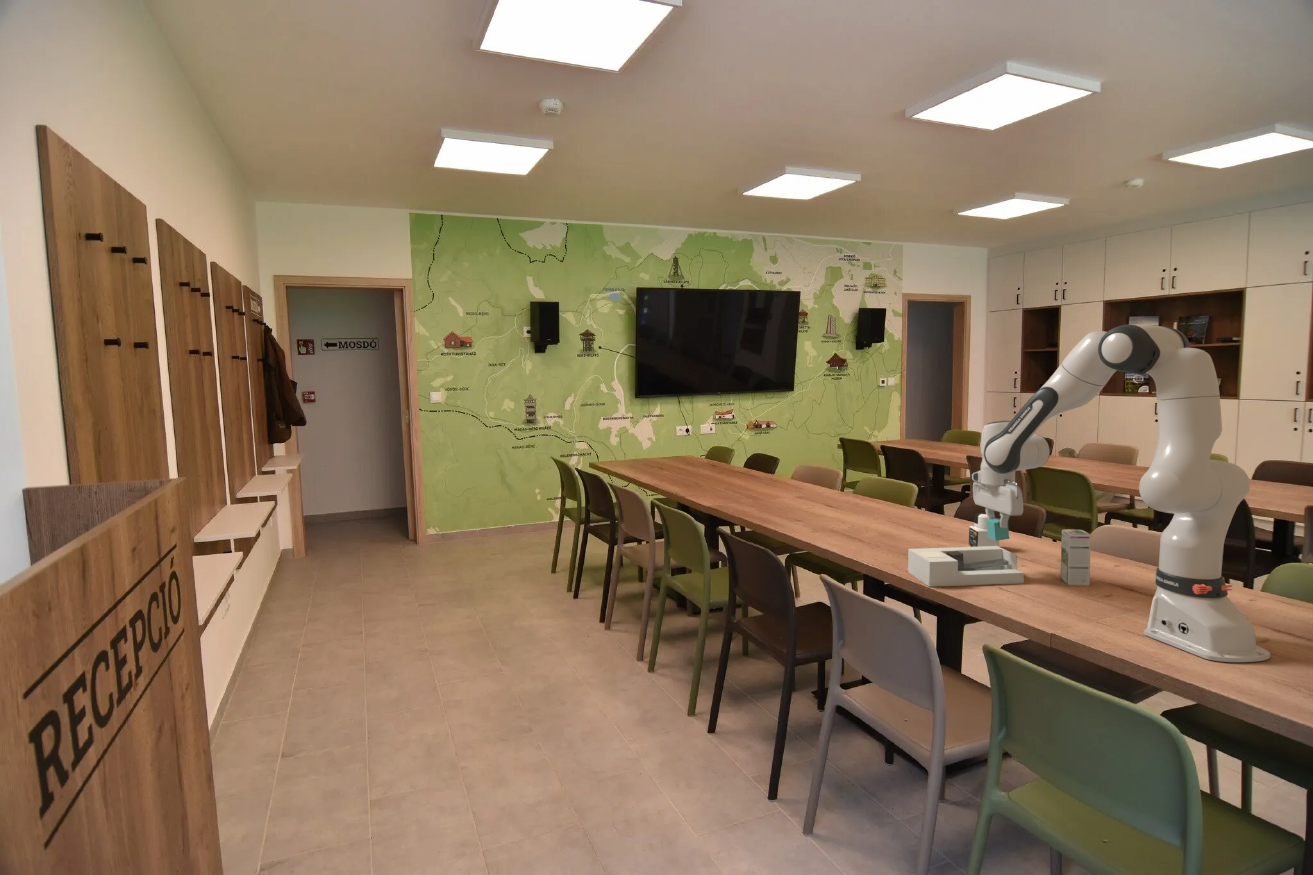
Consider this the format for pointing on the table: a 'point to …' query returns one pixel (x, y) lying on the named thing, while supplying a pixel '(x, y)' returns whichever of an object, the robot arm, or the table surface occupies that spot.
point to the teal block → (997, 530)
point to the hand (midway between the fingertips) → (997, 525)
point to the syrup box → (1075, 557)
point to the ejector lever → (975, 565)
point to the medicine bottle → (980, 532)
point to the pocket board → (944, 569)
